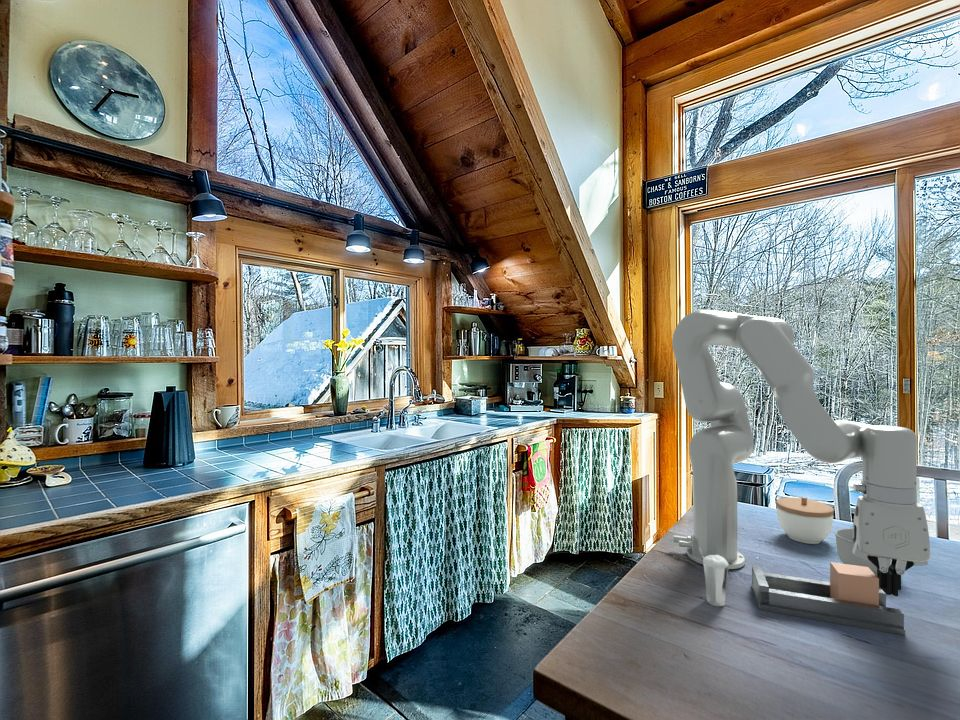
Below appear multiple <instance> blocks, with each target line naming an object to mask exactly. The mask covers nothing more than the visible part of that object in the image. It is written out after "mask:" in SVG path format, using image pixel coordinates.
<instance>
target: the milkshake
mask: <svg viewBox="0 0 960 720" xmlns="http://www.w3.org/2000/svg"><path fill="white" fill-rule="evenodd" d="M699 549H700V548H699ZM700 552H701V554H702V551H701V549H700ZM702 557H703V565H702V566H703V572H704V579H705V580H704V581H705V595H706V602H707V603H708V604H709V605H711V606H713V607H720V608H721V607H724V606H725V605H726V604H725V603H726V593H727V580H728V573H729V569H728V566H729V564H728V562H727V561H726V559H725V558H723V557H721V556H719V555H708V556H706V557H704V556H703V554H702Z"/></svg>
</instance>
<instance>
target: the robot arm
mask: <svg viewBox="0 0 960 720" xmlns="http://www.w3.org/2000/svg"><path fill="white" fill-rule="evenodd" d="M794 341H795V332H794V329H793V328H792V326H791V325H790V324H789V323H788V322H786V321H785V320H783V319H781V318H777V317H768V316H757V315H752V314H751V315H750V314H743V313H737V312H730V311H722V310H715V309H714V310H713V309H712V310H711V309H701V310H700V309H699V310H695V311H692V312H690V313H688V314H687V315H685V316H684V317H682V318H681V320H680V321H679V322H678V324H677V325H676V327H675V328H674V331H673V334H672V351H673V355H674V359H675V361H676V366H677V369H678V374H679V379H680V385H681V389H682V394H683V399H684V403H685V407H686V410H687V412H688V416H690V418H692V420H694V421H697V422H701V423H709V422H710V425H711V426H710V427H706V428H702V429H701V430H698V431H697V432H696V433H695V434H694V435H693V436H692V437H691V439H690V442H689V446H688V448H689V449H688V453H689V459H690V463H691V470H692V472H691V473H692V493H693V494H692V495H693V496H692V497H693V498H692V500H693V503H692V504H693V505H692V506H693V511H692V515H693V519H692V520H693V521H692V522H693V526H692V527H693V528H692V529H693V532H691V535H687V536H682V535H677V534H673V544H678V546H679V547H682V548H686V555H687V557H688V558H689V559H690V560H691V561H693V562H695V563H697V564H699V565H702V566H704V565H703V557H702V554H703V556H704V557H706V556H708V555H719V556H721V557H723V558H725V559H726V561H727V562H728V564H729V566H728V570H737V569H740V568H742V567H744V566H745V564H746V558H745V556H744V555H743V554H742V553H741V552H740V551H739V550H738V484H737V483H738V482H737V476H736V474H735V471H734V465H735V464H737V463H741V462H744V461H746V460H747V459H748V458H749V457H750V456H751V455H752V453H753V451H754V446H755V445H754V444H755V443H754V436H753V430H752V427H751V423H750V420H749V419H750V418H749V415H748V412H747V411H748V410H747V407H746V402H745V399H744V397H743V395H742V394H741V392H740V391H739V390H738V389H737V388H736V387H735V386H734V385H732V384H731V383H728V382H723V381H720V379H719V374H718V370H717V365H716V363H715V360H714V358H713V356H712V354H711V353H710V351H709V347H710V346H726V347H732V348H737V349H741V350H742V351H743V352H744V353H745V355H746V357H747V358H748V359H749V360H750V362H751V363H752V364H753V366H754V367H755V369H756V370H757V371H758V372H759V374H760V375H761V376H762V377H763V379H764V381H765V382H766V383H767V384H768V386H769V387H770V389H771V391H772V393H773V397H774V401H775V403H776V406H777V408H778V411H779V414H780V416H781V419H782V420H783V421H784V423H785V425H786V426H787V428H788V430H789V431H790V432H791V434H792V435H793V436H794V437H795V440H796V441H797V442H798V443H799V445H801V447H802V448H803V449H804V450H805V452H806V453H807V454H809V456H811V457H812V458H814V459H815V460H817V461H819V462H821V463H826V464H827V463H828V464H836V463H841V462H843V461H846V460H848V459H855V458H861V459H862V461H861V462H862V464H861V465H862V480H860V483H858V484H856V483H855V484H853V485H852V486H853V487H852V488H853V492H855V493H856V492H857V493H860V494H862V495H859V496H858V497H857V501H856V505H855V509H854V515H853V523H852V528H853V542H854V547H853V550H852V552H853V554H854V555H855V556H857V557H859V558H862V559H865V560H869V561H871V562H872V563H873V564H874V565H875V566H876V567H877V577H878V578H879V588H880V590H883V591H884V592H885V593H886V596H891V595H892V596H893V597H898V596H899V591H901V590H902V576H903V575H905V572H906V571H908V570H909V569H910V568H912V567H923V566H927V565H929V564H928V563H929V560H930V558H931V542H930V533H929V526H928V521H927V515H926V512H925V507H924V505H922V504H921V503H918V501H917V500H918V499H917V498H918V497H917V496H918V495H917V494H918V493H917V491H918V488H917V487H918V484H917V483H918V482H917V481H918V480H917V478H918V477H917V476H918V475H917V474H918V473H917V472H918V471H917V469H918V465H917V463H918V462H917V460H918V459H917V457H918V454H917V453H918V449H917V445H918V443H917V442H918V440H917V435H916V433H915V432H914V431H913V430H912V429H910V428H908V427H904V426H896V425H885V424H883V425H882V424H881V425H880V424H878V425H875V424H874V425H873V424H867V423H862V422H857V421H854V420H852V421H851V420H847V419H837V420H834V418H832V417H831V416H830V414H829V413H828V411H827V410H826V409H825V408H824V406H823V405H822V403H821V402H820V400H819V398H818V396H817V394H816V392H815V391H816V390H815V387H814V383H815V382H814V378H815V372H814V369H813V367H812V366H811V365H810V363H809V362H808V361H807V360H806V358H805V357H804V356H803V354H801V353H800V351H799V350H798V348H796V347H795V345H794ZM699 548H700V549H701V551H702V554H701V552H700V549H699ZM886 558H890V559H891V561H890V566H889V567H888V566H887V561H886Z"/></svg>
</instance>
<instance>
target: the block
mask: <svg viewBox="0 0 960 720" xmlns="http://www.w3.org/2000/svg"><path fill="white" fill-rule="evenodd" d="M829 567H830V568H829V571H830V572H829V576H830V577H829V580H830V581H829V582H830V598H832V599H839V600H845V601H851V602H857V603H864V604H870V605H876V606H879V589H880V587H879V578H878V577H877V576H876V575H875V574H874V573H873V572H872V571H871V570H870V569H869V567H864V566H857V565H849V564H844V563H843V562H842V563H840V562H833V561H830V562H829Z"/></svg>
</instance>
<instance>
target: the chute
mask: <svg viewBox="0 0 960 720" xmlns="http://www.w3.org/2000/svg"><path fill="white" fill-rule="evenodd" d="M751 588H752V591H753V594H754V596H755V599H756V603H757V606H758V608H759V610H760V611H766V612H771V613H776V614H783V615H787V616H795V617H798V618H804V619H811V620H818V621H822V622H829V623H833V624H840V625H844V626H845V625H846V626H849V627H857V628H861V629H862V628H863V629H866V630H873V631H878V632H884V633H891V634H895V635H901V636H906V629H905V613H904V612H903V611H902V610H901V609H900V608H894V607H887V595H886V593H885V592H884V591H883V590H882V589H881V588H879V606H876V605H870V604H864V603H857V602H851V601H845V600H839V599H832V598H830V581H827V580H826V581H825V580H819V579H812V578H805V577H799V576H793V575H785V574H779V573H778V574H777V573H771V572H764V571H763V569H762V567H761V566H757V565H756V566H755V565H751Z"/></svg>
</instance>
